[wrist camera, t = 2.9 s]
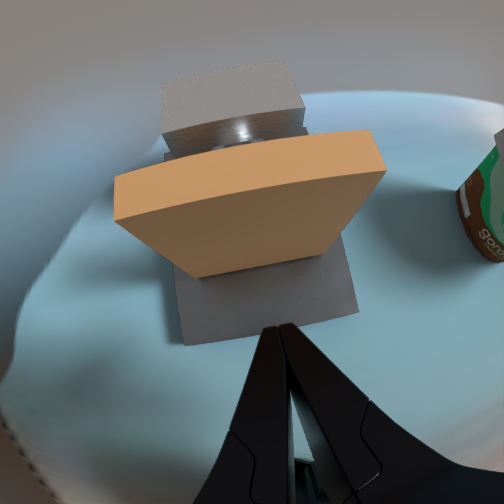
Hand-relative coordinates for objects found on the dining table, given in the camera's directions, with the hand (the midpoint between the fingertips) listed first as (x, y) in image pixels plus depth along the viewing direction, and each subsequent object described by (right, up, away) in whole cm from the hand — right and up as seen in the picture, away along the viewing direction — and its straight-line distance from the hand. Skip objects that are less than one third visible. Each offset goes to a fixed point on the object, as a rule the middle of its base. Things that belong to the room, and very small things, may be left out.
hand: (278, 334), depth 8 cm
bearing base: (-1, +3, +12) cm, 12 cm away
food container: (+21, +3, +11) cm, 24 cm away
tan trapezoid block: (-1, +4, +10) cm, 11 cm away
